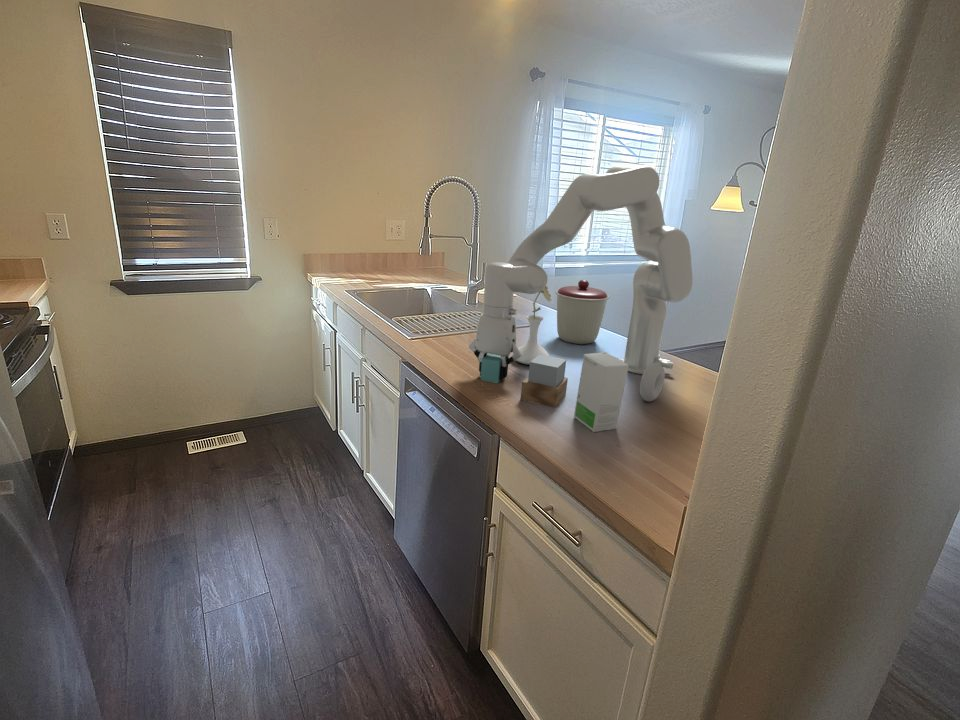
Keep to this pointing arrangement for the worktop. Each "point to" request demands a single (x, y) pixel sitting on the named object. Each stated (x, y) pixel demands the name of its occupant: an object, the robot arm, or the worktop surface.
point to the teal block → (491, 368)
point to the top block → (547, 370)
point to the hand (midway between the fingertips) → (492, 376)
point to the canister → (580, 312)
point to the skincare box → (600, 391)
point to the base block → (543, 393)
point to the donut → (652, 382)
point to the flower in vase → (533, 335)
